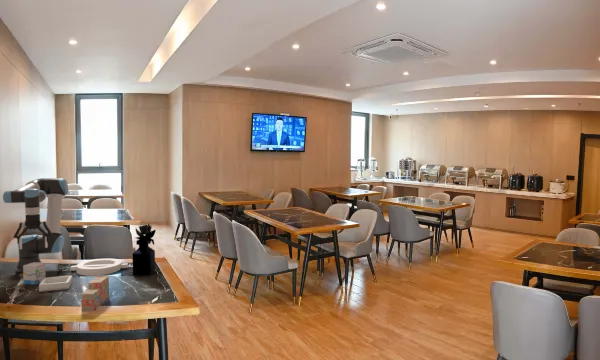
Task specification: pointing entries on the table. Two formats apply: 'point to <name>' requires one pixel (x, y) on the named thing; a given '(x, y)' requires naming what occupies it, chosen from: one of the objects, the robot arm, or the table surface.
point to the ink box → (34, 273)
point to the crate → (55, 283)
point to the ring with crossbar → (99, 266)
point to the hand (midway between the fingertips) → (33, 248)
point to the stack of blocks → (95, 293)
